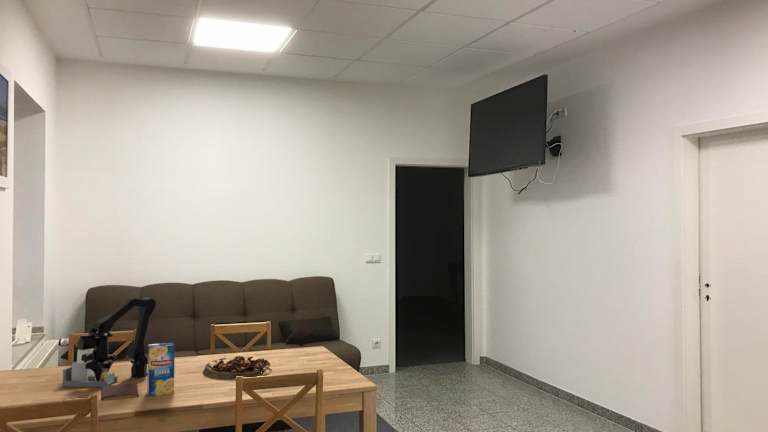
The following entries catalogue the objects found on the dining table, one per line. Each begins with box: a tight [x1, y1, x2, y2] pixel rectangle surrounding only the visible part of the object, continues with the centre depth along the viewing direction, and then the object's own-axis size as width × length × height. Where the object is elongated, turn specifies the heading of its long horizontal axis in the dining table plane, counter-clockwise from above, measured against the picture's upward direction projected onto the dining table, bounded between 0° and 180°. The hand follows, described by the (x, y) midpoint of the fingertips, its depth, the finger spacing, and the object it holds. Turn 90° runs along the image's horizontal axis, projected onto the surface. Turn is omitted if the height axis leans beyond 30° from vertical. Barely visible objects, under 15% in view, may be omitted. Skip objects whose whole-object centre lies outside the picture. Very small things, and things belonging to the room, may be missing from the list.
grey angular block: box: [71, 362, 88, 381], centre depth 286 cm, size 4×7×10 cm, turn 111°
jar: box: [95, 368, 109, 381], centre depth 286 cm, size 6×6×6 cm
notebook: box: [101, 382, 139, 401], centre depth 272 cm, size 15×20×2 cm
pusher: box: [104, 371, 115, 385], centre depth 285 cm, size 1×8×4 cm, turn 178°
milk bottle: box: [76, 348, 95, 376], centre depth 302 cm, size 8×8×20 cm
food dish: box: [201, 355, 271, 380], centre depth 312 cm, size 35×33×8 cm
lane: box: [62, 365, 119, 388], centre depth 286 cm, size 21×10×8 cm, turn 88°
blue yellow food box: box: [146, 342, 176, 397], centre depth 271 cm, size 7×11×22 cm, turn 117°
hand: (101, 379), depth 286 cm, fingers closed on jar, 5 cm apart
